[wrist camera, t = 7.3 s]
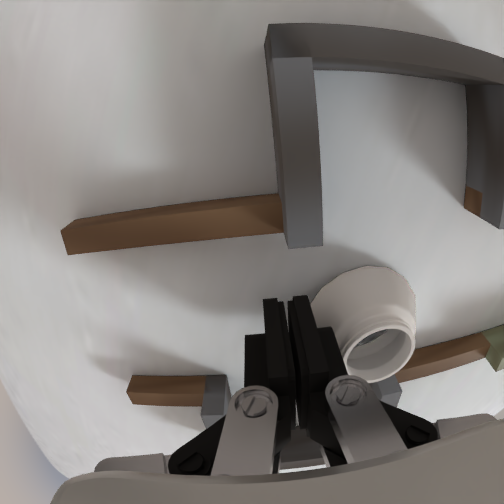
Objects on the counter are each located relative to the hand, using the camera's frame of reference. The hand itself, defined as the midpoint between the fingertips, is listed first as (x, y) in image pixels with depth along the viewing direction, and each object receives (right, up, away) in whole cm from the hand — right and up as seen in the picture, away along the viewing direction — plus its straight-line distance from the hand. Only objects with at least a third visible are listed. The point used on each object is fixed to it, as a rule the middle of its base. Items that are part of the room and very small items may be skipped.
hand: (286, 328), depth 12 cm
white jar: (+3, 0, +2) cm, 4 cm away
